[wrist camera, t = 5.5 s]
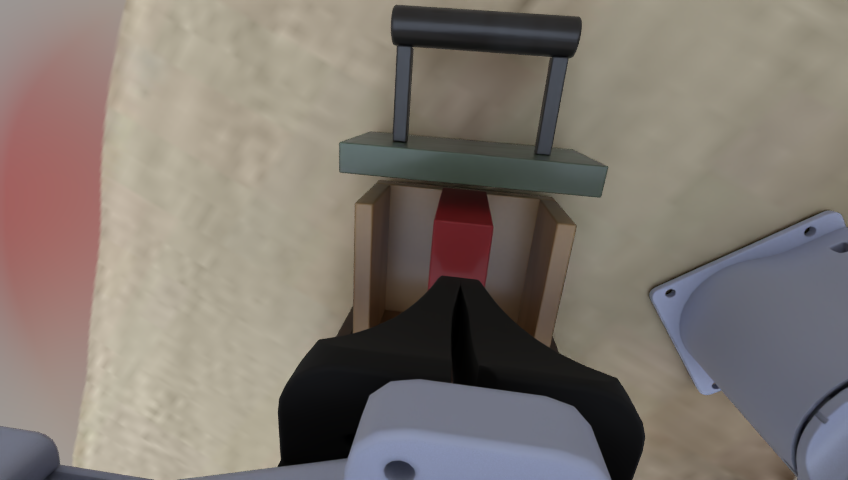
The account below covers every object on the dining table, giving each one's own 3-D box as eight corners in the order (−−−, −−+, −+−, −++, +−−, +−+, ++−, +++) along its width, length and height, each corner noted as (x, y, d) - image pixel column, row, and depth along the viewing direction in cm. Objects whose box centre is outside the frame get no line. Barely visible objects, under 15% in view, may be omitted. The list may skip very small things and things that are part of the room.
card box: (442, 187, 20) (433, 219, 14) (486, 191, 19) (494, 225, 14) (434, 274, 21) (423, 331, 16) (475, 278, 21) (477, 338, 16)
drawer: (373, 18, 18) (339, -11, 13) (596, 33, 18) (646, 9, 13) (365, 309, 24) (338, 364, 19) (536, 330, 23) (555, 392, 18)
